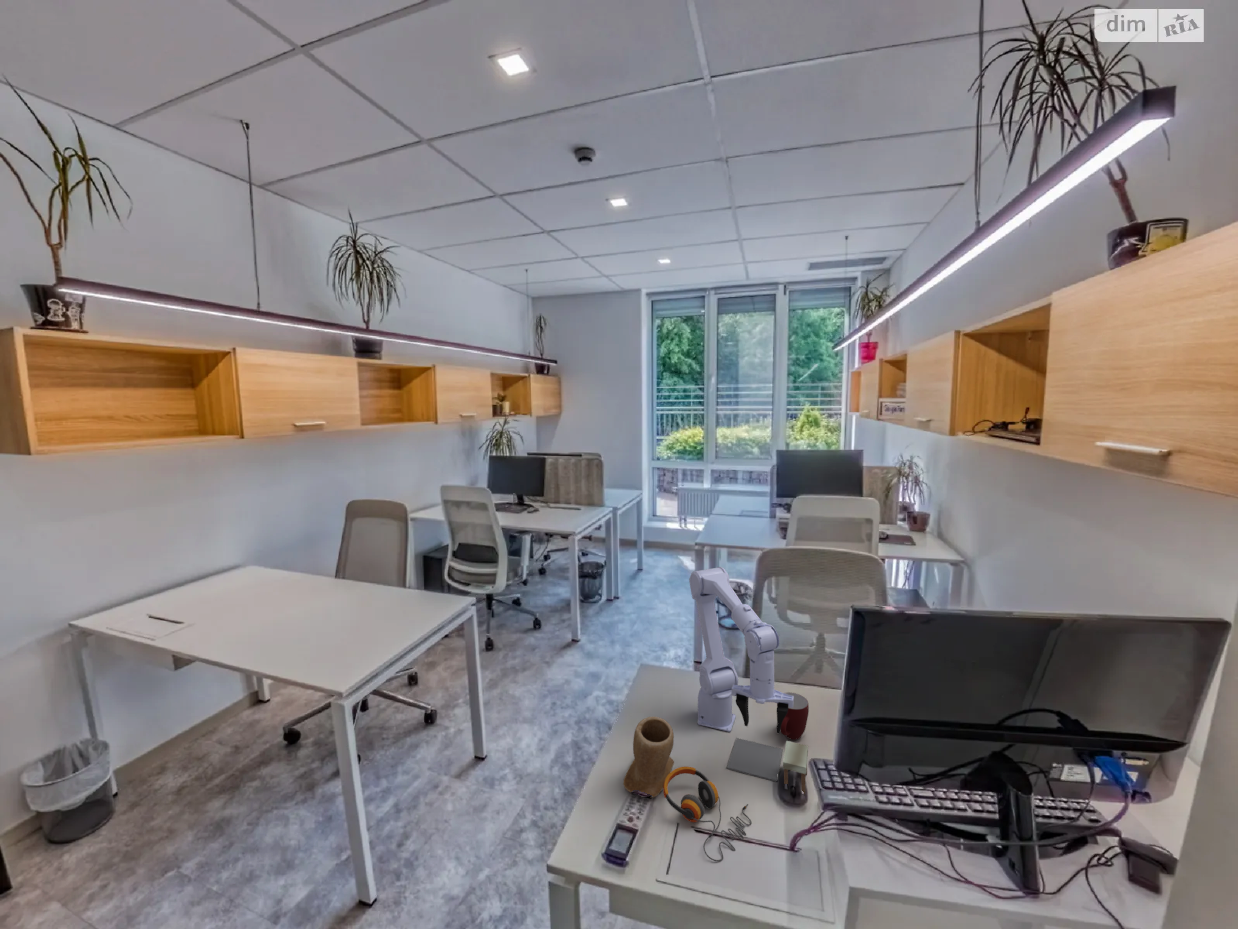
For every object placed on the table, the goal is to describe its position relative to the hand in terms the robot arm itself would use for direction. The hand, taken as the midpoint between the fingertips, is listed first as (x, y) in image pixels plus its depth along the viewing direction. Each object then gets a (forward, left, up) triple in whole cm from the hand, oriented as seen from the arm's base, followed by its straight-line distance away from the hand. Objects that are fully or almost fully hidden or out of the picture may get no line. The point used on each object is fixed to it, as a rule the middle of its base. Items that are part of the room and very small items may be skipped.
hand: (762, 727), depth 120 cm
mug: (+6, +14, -11) cm, 18 cm away
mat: (-2, +2, -10) cm, 11 cm away
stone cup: (-24, -14, -11) cm, 30 cm away
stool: (+8, -2, -10) cm, 13 cm away
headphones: (-10, -20, -11) cm, 25 cm away
